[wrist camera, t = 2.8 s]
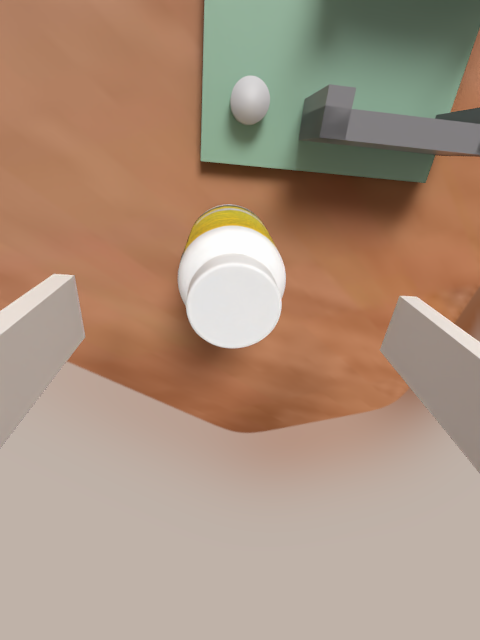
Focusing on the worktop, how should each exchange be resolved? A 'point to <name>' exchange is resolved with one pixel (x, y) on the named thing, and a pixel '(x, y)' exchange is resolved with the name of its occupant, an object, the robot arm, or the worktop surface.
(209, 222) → the supplement bottle
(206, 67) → the board
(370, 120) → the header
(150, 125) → the worktop surface
